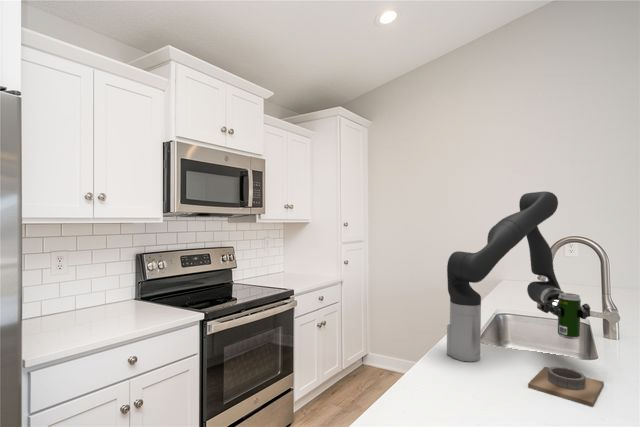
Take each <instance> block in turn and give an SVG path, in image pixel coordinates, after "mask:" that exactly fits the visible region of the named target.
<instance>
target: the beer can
mask: <svg viewBox="0 0 640 427" xmlns="http://www.w3.org/2000/svg"><path fill="white" fill-rule="evenodd" d="M580 297H581V295H579V294H576V293H570V292H564V293H559V297H558V307H559V308H560V309H561V317H557V333H558V336H559V337H561V338H563V339H567V340H579V338H580V337H581V318H580V311H581V306H582V304H581V302H582V300H581V298H580Z"/></svg>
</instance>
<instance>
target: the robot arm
mask: <svg viewBox="0 0 640 427" xmlns="http://www.w3.org/2000/svg"><path fill="white" fill-rule="evenodd" d="M558 206H559V200H558V197H557V196H556V194H555V193H553V192H550V191H544V190H543V191H534V192H526V193H524V194H523V195H521V196H520V198H519V211H516V212H515V213H512V214H510V215H507V216H505V217H504V218H502V219H501V220H499V221H498V222H497V223H496V224H494V225H493V226H492V227H491V228H490V229H489V231H488V234H487V244H486V245H485V246H484V247H482V249H480V250H479V251H476V252H470V251H469V252H467V251H454V252H452V253H451V255H450V256H449V258H448V260H447V266H446V276H447V291H448V295H449V324H447V326H446V355H447V356H450V357H452V358H453V359H455V360H458V361H463V362H477V361H480V359H481V330H482V323H481V322H482V319H481V318H482V296H481V295H480V293H479V292H477V291H476V290H475V289H474V288H473V287H472V286H471V284H470V283H473V284H476V283H477V284H478V283H479V282H482V281H483V280H484V279H485V278H486V277H487V276H488V275H489V274H490V273H491V271H492V270H493V269H494V267H495V266H496V265H497V264H498V263H499V262H500V261H501V260H502V259H503V258H504V257H505V256H506V255H507V254H508V253H509V252H510V251H511V250H512V249H513V248H514V247H516V246H518V244H519V243H521V241H522V240H523V239H524V238H525V237H526V239H527V243H528V249H529V257H530V259H529V260H530V269H531V273H532V274H534V275H535V276H542V277H546V279H547V280H546V281H545V280H544V281H543V280H542V281H541V280H538V281H535V280H534V281H531V282H530V283H529V284H528V285H527V288H526V292H527V295H528V297H529V299H531V300H532V301H533V302H535V303H536V309H537V310H540V311H541V312H542V313H545V314H548V313H550V314H552V315H553V316H556V317H557V318H558V317H561V309H560V308H559V307H558V297H559V293H565V292H564V291H563V290H562V289H561V286H560V284H559V282H558V279H557V276H556V274H555V269H554V258H553V252H552V248H551V247H550V245H549V243H548V242H547V240H546V238H545V237H544V236H543V235H542V233H541V231H540V229H539V227H538V226H539V225H541V224H542V223H543V222H545V221H546V220H548V219H549V218H551V217H552V216H554V214H555V213H556V211H557V209H558ZM588 317H591V307H590V305H589V303H583V304H581V311H580V319H582V320H586V319H587V318H588Z"/></svg>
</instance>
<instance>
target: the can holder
mask: <svg viewBox="0 0 640 427" xmlns="http://www.w3.org/2000/svg"><path fill="white" fill-rule="evenodd" d="M604 384H605V383H604V381H601V380H599V379H594V378H592V377H591V378H590V377H586V375H584V373H582V372H580V371H578V370H576V369H572V368H568V367H564V366H563V367H561V366H552V367H548V366H544V367H543V368H542V369H540V371H538V372H537V374H536V375H535V376H534V377H533V378H532V379H531V380H530V381H529V382H528V383H527V387H528V388H529V389H533V390H536V391H538V392H542V393H546V394H548V395H549V394H550V395H552V396H556V397H559V398H563V399H566V400H568V401H573V402H575V403H579V404H583V405H587V406H588V407H592V408H593V407H594V406H595V403H596V401H597V399H598V397H599V396H600V393H601V391H602V389H603V387H604Z"/></svg>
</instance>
